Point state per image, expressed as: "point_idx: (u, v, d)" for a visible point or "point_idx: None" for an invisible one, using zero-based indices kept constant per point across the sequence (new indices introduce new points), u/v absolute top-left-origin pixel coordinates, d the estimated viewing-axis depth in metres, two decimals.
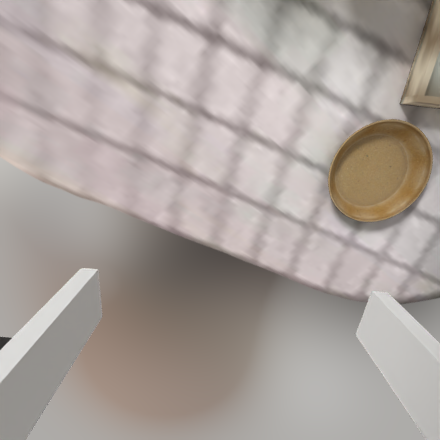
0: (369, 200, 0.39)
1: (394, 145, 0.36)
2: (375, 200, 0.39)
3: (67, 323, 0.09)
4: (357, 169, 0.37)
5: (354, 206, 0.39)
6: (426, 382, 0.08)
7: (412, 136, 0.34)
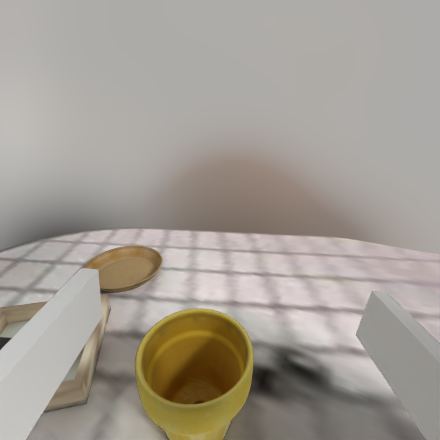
0: (122, 261, 0.52)
1: (109, 287, 0.44)
2: (117, 262, 0.52)
3: (67, 323, 0.09)
4: (136, 272, 0.49)
5: (133, 257, 0.54)
6: (426, 382, 0.08)
7: None
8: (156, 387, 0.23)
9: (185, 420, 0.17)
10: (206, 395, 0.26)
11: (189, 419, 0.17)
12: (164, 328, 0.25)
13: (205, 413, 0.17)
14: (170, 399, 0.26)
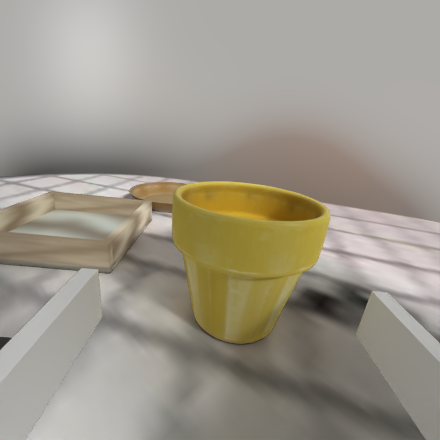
0: (170, 195, 0.50)
1: None
2: (165, 195, 0.50)
3: (67, 323, 0.09)
4: None
5: None
6: (426, 382, 0.08)
7: None
8: None
9: (230, 237, 0.12)
10: None
11: (237, 236, 0.12)
12: (212, 192, 0.20)
13: (260, 232, 0.12)
14: None
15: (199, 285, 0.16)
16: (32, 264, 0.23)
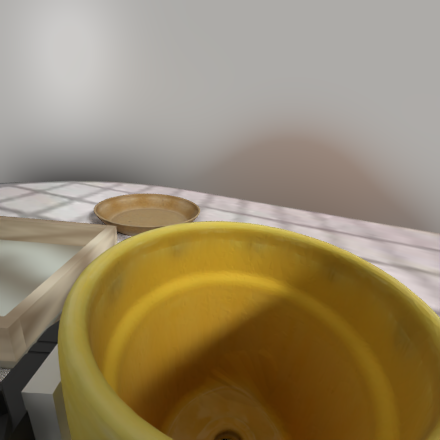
0: (150, 210, 0.41)
1: None
2: (144, 210, 0.41)
3: None
4: (164, 222, 0.37)
5: (164, 208, 0.42)
6: None
7: None
8: (137, 367, 0.09)
9: None
10: (248, 421, 0.12)
11: None
12: (183, 243, 0.11)
13: None
14: (169, 407, 0.12)
15: None
16: None
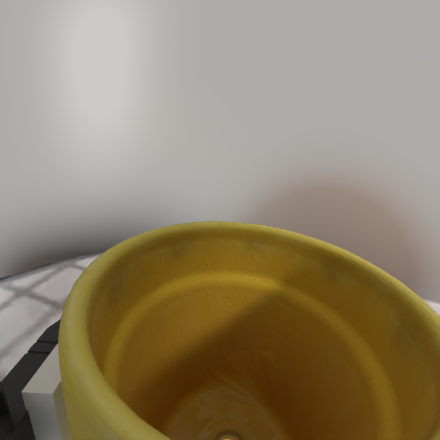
0: None
1: None
2: None
3: None
4: None
5: None
6: None
7: None
8: (138, 367, 0.09)
9: None
10: (248, 422, 0.12)
11: None
12: (184, 243, 0.11)
13: None
14: (169, 408, 0.12)
15: None
16: None
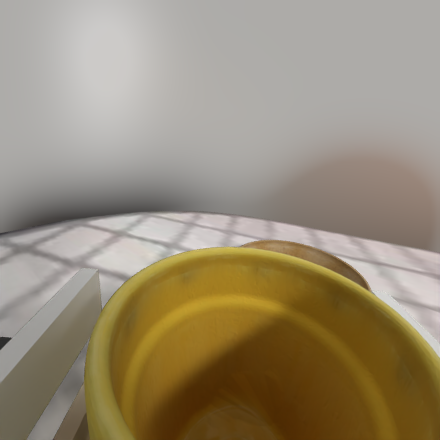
0: None
1: None
2: None
3: (67, 323, 0.09)
4: None
5: None
6: None
7: None
8: (150, 394, 0.10)
9: None
10: None
11: None
12: (192, 270, 0.12)
13: None
14: (178, 427, 0.12)
15: None
16: None
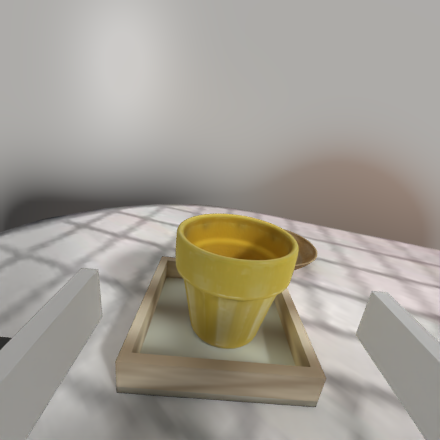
0: None
1: None
2: None
3: (67, 323, 0.09)
4: None
5: None
6: (426, 382, 0.08)
7: None
8: None
9: (220, 272, 0.17)
10: None
11: (225, 271, 0.17)
12: (208, 223, 0.25)
13: (242, 268, 0.16)
14: None
15: (196, 303, 0.20)
16: (219, 397, 0.18)
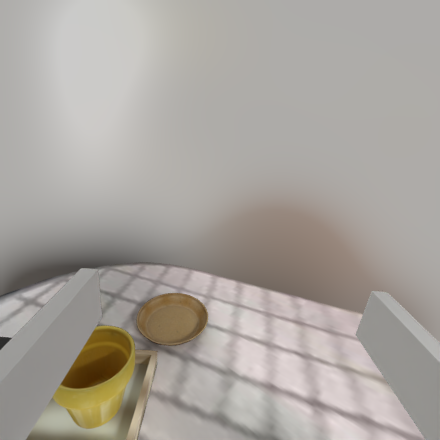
0: (171, 308, 0.56)
1: (158, 337, 0.48)
2: (167, 308, 0.56)
3: (67, 323, 0.09)
4: (183, 324, 0.52)
5: (181, 305, 0.57)
6: (426, 382, 0.08)
7: (149, 338, 0.47)
8: (70, 373, 0.34)
9: (61, 396, 0.28)
10: None
11: (63, 396, 0.28)
12: None
13: (72, 395, 0.28)
14: (84, 386, 0.37)
15: None
16: None
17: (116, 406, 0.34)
